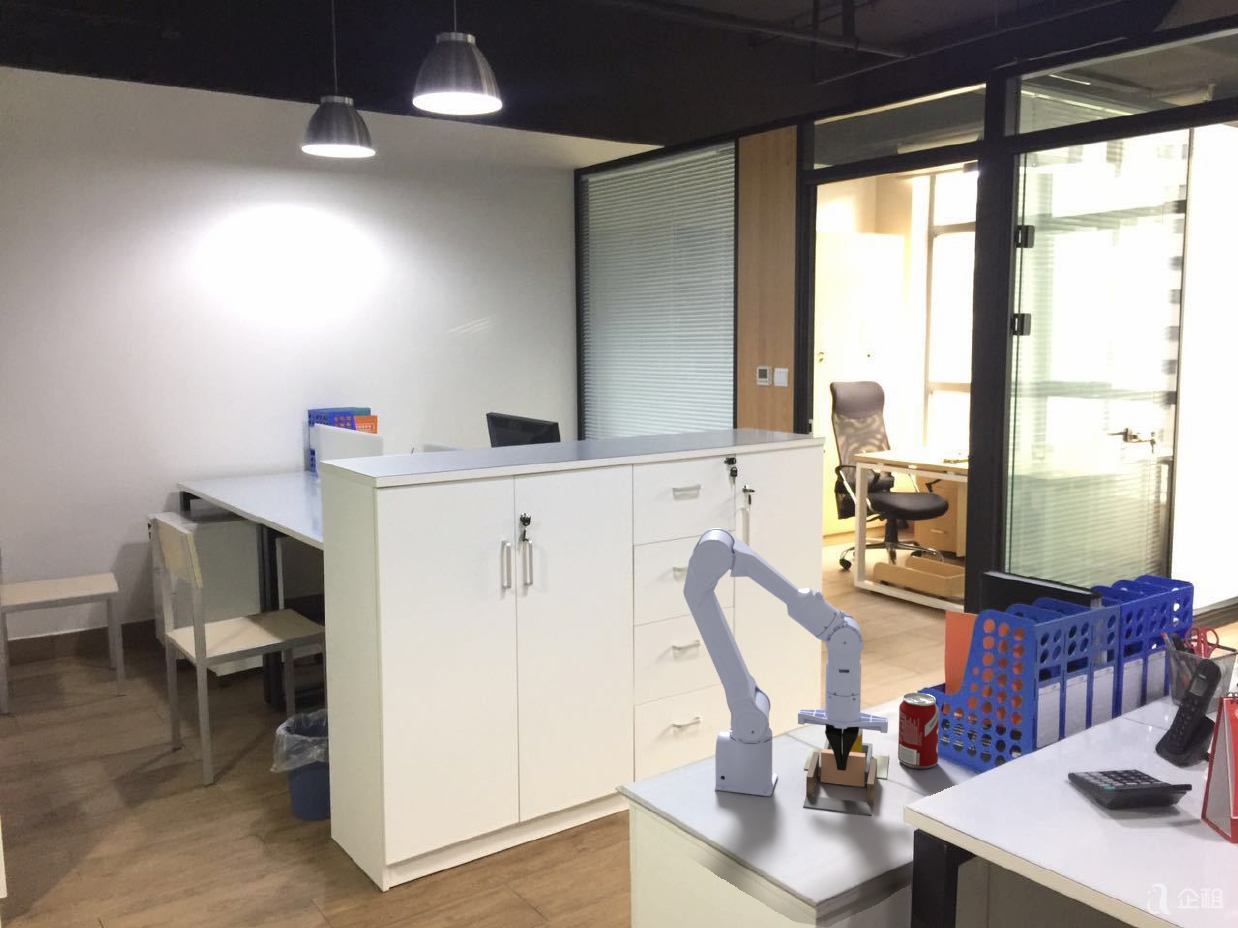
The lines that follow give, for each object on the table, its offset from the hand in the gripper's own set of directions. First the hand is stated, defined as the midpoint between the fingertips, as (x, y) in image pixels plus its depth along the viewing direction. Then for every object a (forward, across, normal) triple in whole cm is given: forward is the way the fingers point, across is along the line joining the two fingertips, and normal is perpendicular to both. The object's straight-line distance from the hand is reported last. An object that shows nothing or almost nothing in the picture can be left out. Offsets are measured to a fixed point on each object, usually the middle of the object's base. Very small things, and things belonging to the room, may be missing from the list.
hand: (841, 767), depth 170 cm
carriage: (+4, 0, +8) cm, 9 cm away
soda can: (+4, +12, +14) cm, 19 cm away
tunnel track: (+4, 0, +4) cm, 5 cm away
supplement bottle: (+4, 0, +10) cm, 10 cm away
